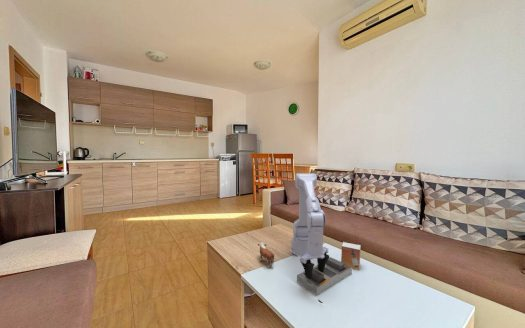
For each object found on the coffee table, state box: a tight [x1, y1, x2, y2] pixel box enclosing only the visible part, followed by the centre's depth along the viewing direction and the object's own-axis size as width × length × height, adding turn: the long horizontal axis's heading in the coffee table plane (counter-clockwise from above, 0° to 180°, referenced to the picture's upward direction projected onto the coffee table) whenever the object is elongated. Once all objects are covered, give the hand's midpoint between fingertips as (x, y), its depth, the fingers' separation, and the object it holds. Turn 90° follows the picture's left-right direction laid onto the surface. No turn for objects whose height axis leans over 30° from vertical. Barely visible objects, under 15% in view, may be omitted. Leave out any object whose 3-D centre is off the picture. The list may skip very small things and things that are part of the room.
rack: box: [296, 257, 353, 297], centre depth 89 cm, size 10×24×4 cm, turn 127°
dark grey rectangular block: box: [326, 256, 344, 272], centre depth 93 cm, size 7×3×5 cm, turn 37°
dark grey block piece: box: [311, 269, 324, 284], centre depth 85 cm, size 7×3×5 cm, turn 37°
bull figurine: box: [257, 242, 275, 269], centre depth 102 cm, size 4×13×8 cm, turn 25°
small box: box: [340, 241, 362, 271], centre depth 99 cm, size 8×6×10 cm
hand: (314, 274), depth 85 cm, fingers open, 7 cm apart
